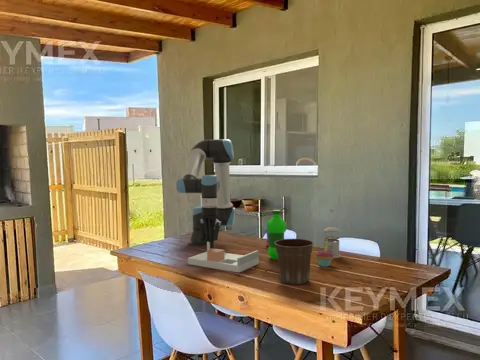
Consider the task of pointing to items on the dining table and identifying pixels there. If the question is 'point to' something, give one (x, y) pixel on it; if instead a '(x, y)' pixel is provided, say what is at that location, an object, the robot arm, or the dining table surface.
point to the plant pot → (294, 260)
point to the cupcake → (324, 257)
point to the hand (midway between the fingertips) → (209, 254)
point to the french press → (332, 241)
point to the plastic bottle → (275, 232)
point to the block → (215, 255)
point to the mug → (267, 237)
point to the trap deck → (227, 261)
